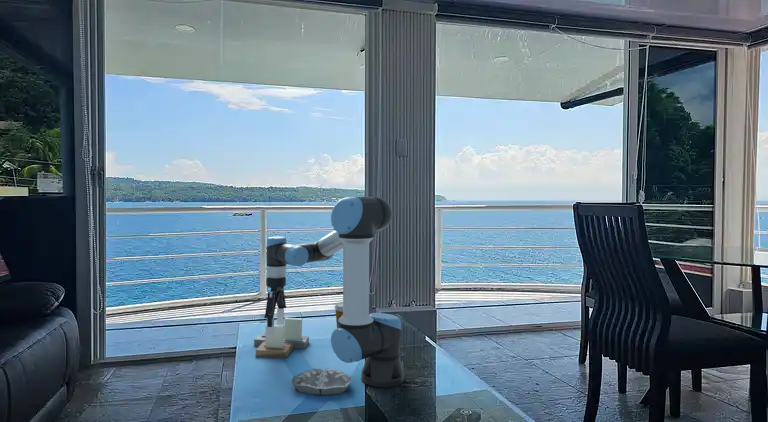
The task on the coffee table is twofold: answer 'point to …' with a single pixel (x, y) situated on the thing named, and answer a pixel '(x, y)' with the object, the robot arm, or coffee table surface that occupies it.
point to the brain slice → (321, 382)
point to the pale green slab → (275, 337)
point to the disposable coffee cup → (338, 311)
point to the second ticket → (293, 329)
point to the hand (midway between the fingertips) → (275, 329)
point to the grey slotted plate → (296, 343)
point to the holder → (274, 351)
